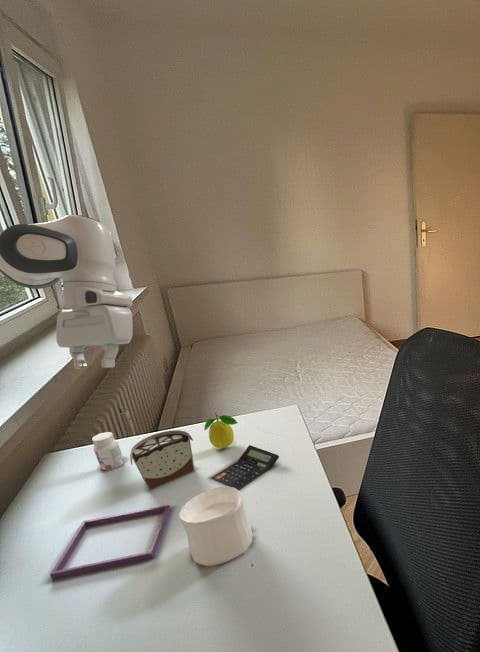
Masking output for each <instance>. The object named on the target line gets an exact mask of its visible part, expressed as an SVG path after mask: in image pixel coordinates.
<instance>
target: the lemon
mask: <svg viewBox="0 0 480 652" xmlns="http://www.w3.org/2000/svg"><path fill="white" fill-rule="evenodd" d="M214 415H215V417H216V418H209V419H207V420H206V421H205V424H204V431H207V430H208V429H209V430H208V439H209V442H210V444H211V445H212V446H213V447H214V448H216V449H226V448H227V447H229V446H230V445H232V444H233V443H234V439H235V435H234V430H233V428H232V425H237V424H238V422H237V419H235V418H234V417H232V416H231V415H226V414H223V415H218V414H217V412H214Z"/></svg>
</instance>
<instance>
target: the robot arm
mask: <svg viewBox="0 0 480 652" xmlns="http://www.w3.org/2000/svg"><path fill="white" fill-rule="evenodd" d="M115 270H116V251H115V244H114V239H113V236H112V233H111V231H110V229H109V228H108V227H107V226H106V225H105V224H104V223H102V222H100V221H99V220H97V219H94V218H92V217H89V216H85V215H81V214H67V215H65V216H63V217H61V218H58V219H55V220H52V221H47V222H39V223H18V224H13V225H10V226H9V227H6V228H5V229H3V231H2V232H0V273H1V274H2V275H3V276H4V277H6V279H8V280H9V281H10V282H12V283H14V284H15V285H17V286H19V287H22V288H27V289H33V290H41V289H46V288H49V287H51V286H53V285H55V284H57V283H58V282H59V281H60V280H61V281H62V291H63V308H62V309H61V311H60V312H58V315H57V317H56V334H55V335H56V339H55V342H56V343H57V346H58V347H59V348H69V349H68V350H69V354H70V356H71V358H72V361H73V368H74V369H75V370H86V369H87V368H88V360H87V359H85V355H84V353H85V348H87V347H88V348H89V347H99V346H100V347H101V346H102V348H103V351H104V354H103V358H101V359H100V363H101V364H100V366H101V368H103V369H112V368H115V367H116V358H117V355H118V353H119V345H125V344H127V345H128V344H130V343H131V341H132V339H133V333H134V332H133V330H134V328H133V327H134V326H133V325H134V324H133V323H134V322H133V314H132V310H131V309H130V308H131V307H133V297H132V296H130V295H127V294H124V293H122V292H119V291H118V290H117V282H116V280H115Z"/></svg>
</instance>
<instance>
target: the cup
mask: <svg viewBox="0 0 480 652" xmlns="http://www.w3.org/2000/svg"><path fill="white" fill-rule="evenodd" d="M178 520H179V522H180V523H181V525H182V527H183V529H184V531H185V533H186V538H187V544H188V548H189V552H190V554H191V556H192V560H193V561H194V562H195V563H197V564H198V565H200V566H206V567H210V566H212V567H213V566H216V565H217V566H218V565H221V564H224V563H226V562H229V561H231V560H233V559H235V558H237V557H240V555H242V554H243V553H245V552H246V551H247V550H248V549H249V548H250V546H251V544H252V542H253V531H252V527H251V523H250V520H249V517H248V515H247V512H246V509H245V506H244V498H243V495H242V493H241V491H240V490H239V491H238V490H237V489H235V488H233V487H229V486H218V487H215V488H211V489H208V490H205V491H203V492H200V493H199V494H197V495H195V496H193V497H192V498H191V499H190V500H188V501H187V502H186V503H184V505H183V506H182V507H181V509H180V512H179V514H178Z"/></svg>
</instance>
